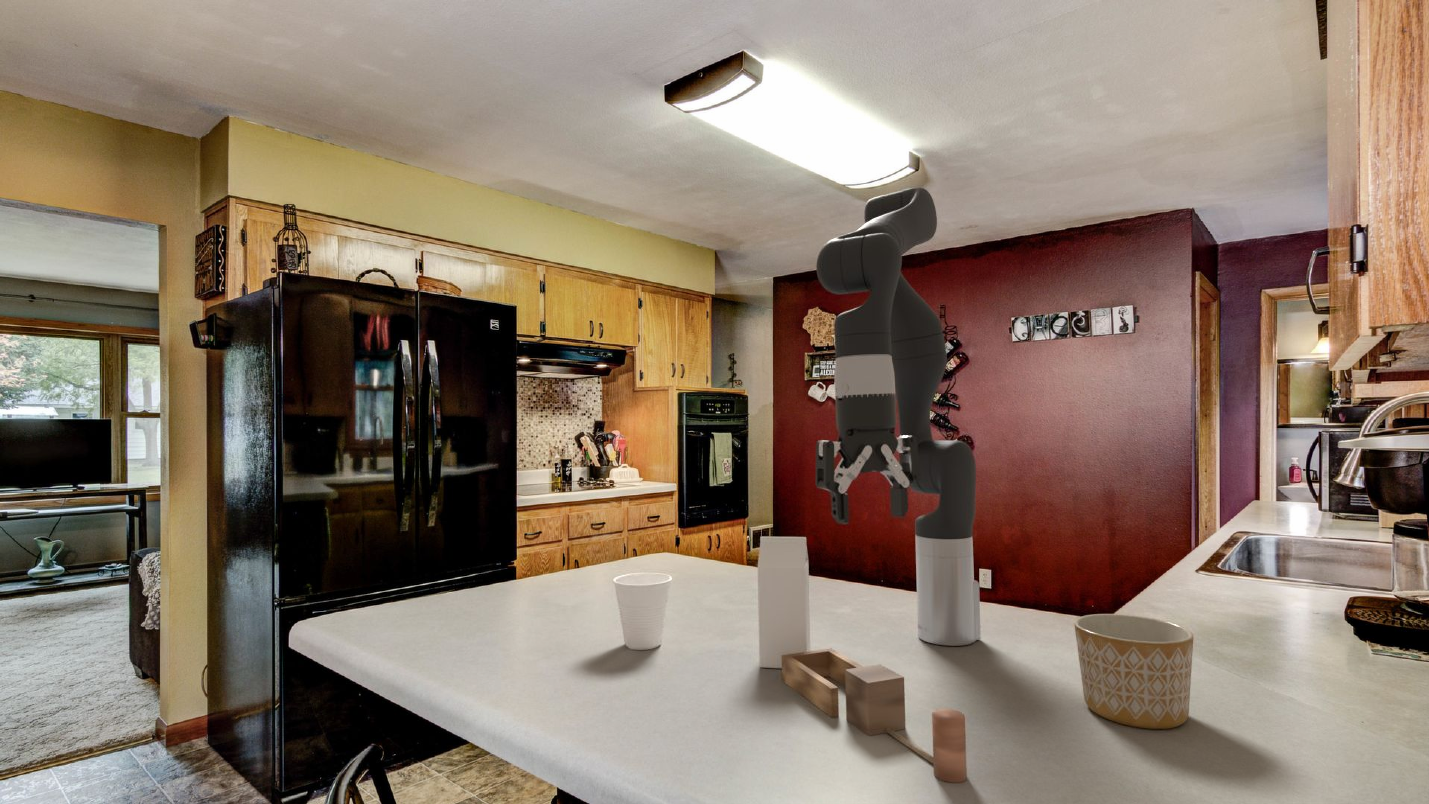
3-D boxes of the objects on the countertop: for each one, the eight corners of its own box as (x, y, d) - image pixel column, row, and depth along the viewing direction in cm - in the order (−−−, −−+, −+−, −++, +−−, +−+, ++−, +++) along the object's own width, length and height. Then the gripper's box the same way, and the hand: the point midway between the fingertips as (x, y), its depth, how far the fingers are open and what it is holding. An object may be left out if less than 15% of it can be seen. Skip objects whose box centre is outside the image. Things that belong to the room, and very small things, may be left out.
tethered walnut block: (846, 719, 85) (845, 669, 86) (881, 712, 87) (879, 664, 87) (940, 786, 69) (938, 724, 69) (980, 777, 71) (979, 717, 71)
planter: (1200, 744, 77) (1196, 648, 78) (1072, 720, 84) (1069, 632, 84) (1194, 705, 88) (1190, 621, 88) (1081, 687, 95) (1078, 609, 95)
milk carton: (807, 670, 103) (804, 540, 104) (759, 668, 104) (757, 540, 105) (810, 655, 110) (807, 533, 111) (765, 653, 111) (763, 533, 112)
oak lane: (781, 680, 99) (781, 655, 99) (831, 672, 102) (831, 648, 102) (831, 717, 86) (831, 688, 86) (887, 707, 89) (886, 679, 89)
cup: (602, 650, 114) (601, 582, 115) (631, 633, 123) (630, 571, 124) (656, 657, 110) (655, 586, 111) (682, 639, 120) (681, 574, 120)
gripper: (892, 392, 95) (898, 511, 95) (801, 395, 90) (807, 521, 90) (929, 389, 88) (935, 518, 88) (832, 392, 83) (838, 529, 83)
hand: (870, 519), depth 89 cm, fingers open, 8 cm apart
